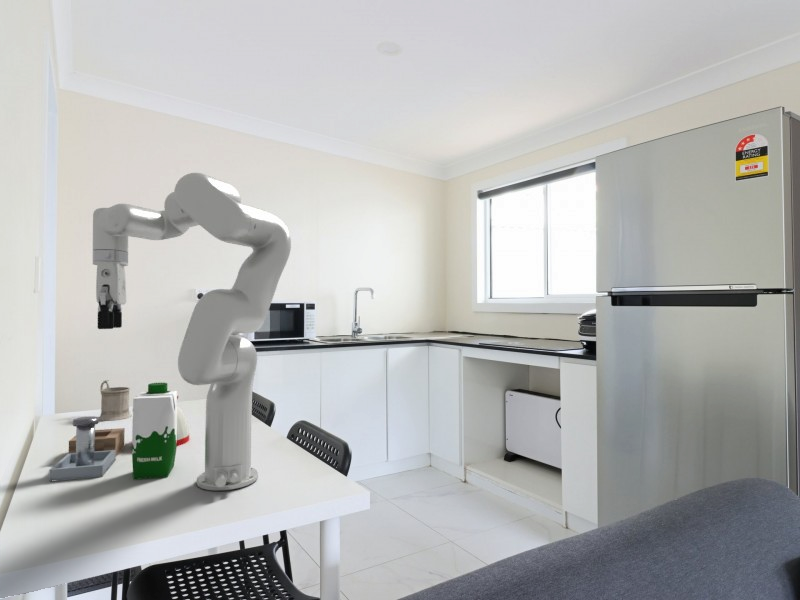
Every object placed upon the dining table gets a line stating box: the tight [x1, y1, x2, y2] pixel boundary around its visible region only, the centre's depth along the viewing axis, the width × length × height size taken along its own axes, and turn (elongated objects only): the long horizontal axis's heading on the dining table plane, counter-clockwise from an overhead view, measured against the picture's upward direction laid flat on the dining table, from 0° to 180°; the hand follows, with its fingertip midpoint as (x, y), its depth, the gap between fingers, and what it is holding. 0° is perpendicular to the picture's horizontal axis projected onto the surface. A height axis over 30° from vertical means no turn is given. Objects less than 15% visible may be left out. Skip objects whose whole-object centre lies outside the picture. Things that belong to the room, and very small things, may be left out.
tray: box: [48, 450, 117, 482], centre depth 109 cm, size 12×10×2 cm
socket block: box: [68, 427, 126, 457], centre depth 122 cm, size 10×10×5 cm
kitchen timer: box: [177, 395, 190, 447], centre depth 133 cm, size 14×14×15 cm
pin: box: [72, 416, 100, 466], centre depth 109 cm, size 5×5×11 cm
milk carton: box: [131, 382, 178, 481], centre depth 108 cm, size 9×9×20 cm
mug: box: [98, 379, 133, 422], centre depth 163 cm, size 14×10×12 cm
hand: (110, 328), depth 116 cm, fingers open, 9 cm apart
